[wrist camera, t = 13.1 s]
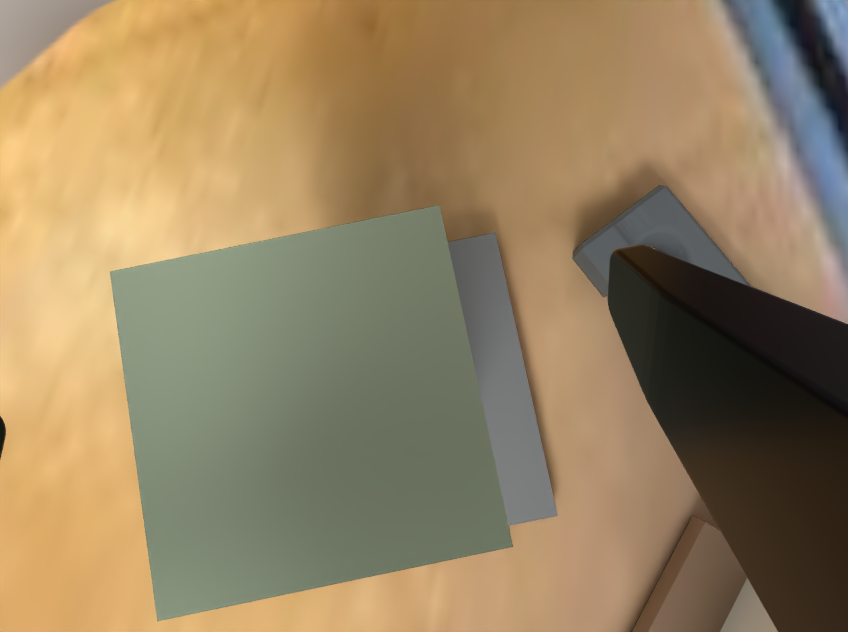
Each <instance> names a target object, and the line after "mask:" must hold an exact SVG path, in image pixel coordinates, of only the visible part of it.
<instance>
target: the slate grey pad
mask: <svg viewBox="0 0 848 632" xmlns="http://www.w3.org/2000/svg"><path fill="white" fill-rule="evenodd" d="M448 246H449V251H450V255H451V260H452V265H453V269H454V274H455V279H456V283H457V288H458V293H459V297H460V302H461V307H462V311H463V316H464V321H465V325H466V330H467V335H468V339H469V344H470V348H471V353H472V358H473V362H474V367H475V372H476V376H477V381H478V386H479V390H480V395H481V400H482V404H483V409H484V414H485V418H486V423H487V428H488V432H489V437H490V442H491V446H492V451H493V456H494V460H495V465H496V470H497V474H498V479H499V483H500V488H501V493H502V497H503V502H504V507H505V511H506V516H507V521H508V525H514V524H519V523H524V522H529V521H534V520H539V519H544V518H549V517H554V516H558V515H557V511H556V506H555V502H554V497H553V492H552V488H551V483H550V479H549V474H548V470H547V465H546V461H545V456H544V452H543V447H542V442H541V438H540V433H539V429H538V424H537V420H536V415H535V411H534V406H533V402H532V397H531V392H530V388H529V383H528V379H527V374H526V370H525V365H524V361H523V356H522V352H521V347H520V342H519V338H518V333H517V329H516V324H515V320H514V315H513V311H512V306H511V302H510V297H509V292H508V288H507V283H506V279H505V274H504V270H503V265H502V261H501V256H500V251H499V247H498V242H497V238H496V233H490V234H485V235H480V236H475V237H470V238H465V239H460V240H455V241H450V242H448Z"/></svg>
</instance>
